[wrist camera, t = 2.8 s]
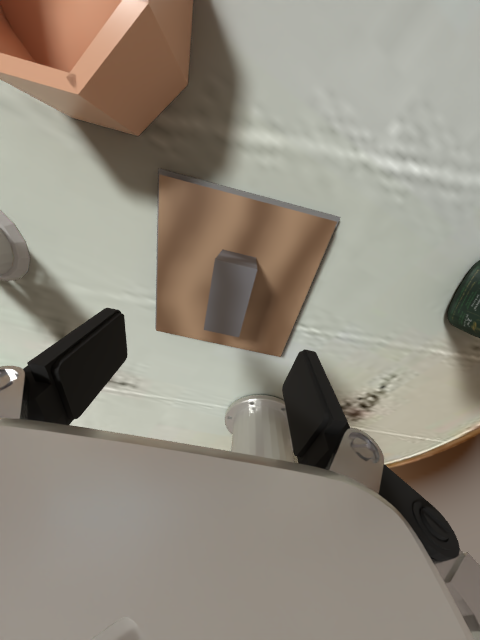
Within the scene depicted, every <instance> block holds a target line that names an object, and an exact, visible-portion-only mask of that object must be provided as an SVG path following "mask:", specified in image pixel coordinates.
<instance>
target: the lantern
mask: <svg viewBox="0 0 480 640" xmlns="http://www.w3.org/2000/svg"><path fill="white" fill-rule="evenodd" d="M29 263H30V255H29V252H28V248H27V245H26V242H25V240H24V238H23V237H22V235H21V234H20V232H19V230H18V229H17V227H16V226H15V224H14V223H13V222H12V221H11V220H10V219H9V218H8V217H7V216H6V215H5V214H4V213H3V212H2V211H1V210H0V279H1V280H5V281H10V280H16V279H20V278H21V277H22V276H24V275H25V274H26V273H27V272H28V269H29Z"/></svg>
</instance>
